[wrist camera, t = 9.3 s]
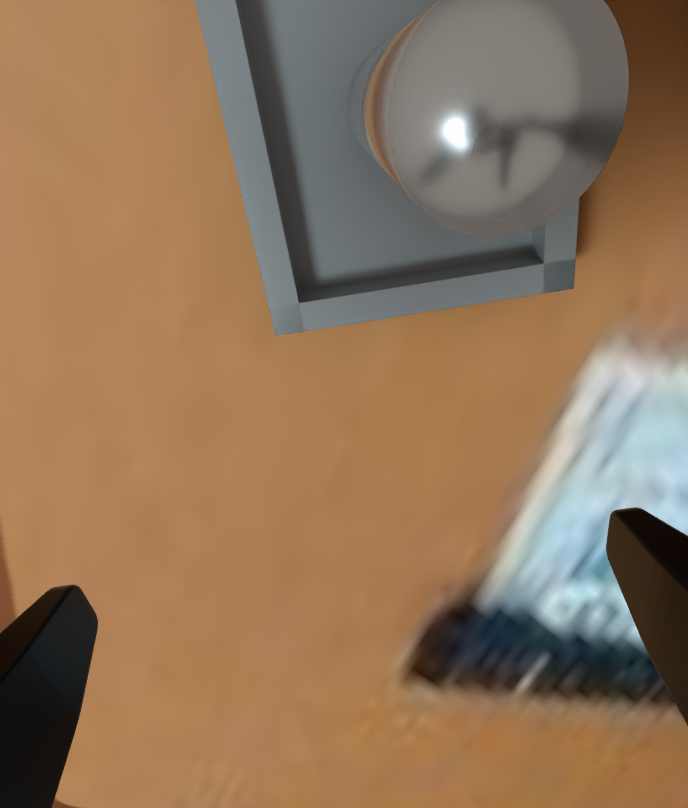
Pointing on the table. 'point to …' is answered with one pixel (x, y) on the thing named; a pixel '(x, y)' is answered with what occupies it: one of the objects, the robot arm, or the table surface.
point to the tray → (346, 177)
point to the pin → (494, 109)
